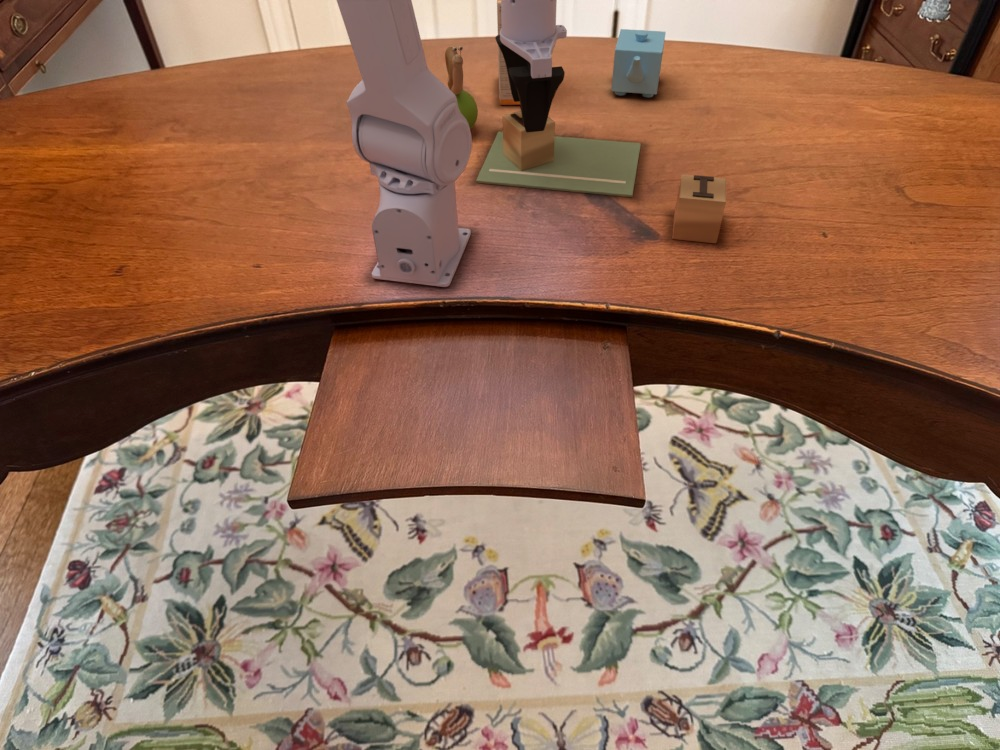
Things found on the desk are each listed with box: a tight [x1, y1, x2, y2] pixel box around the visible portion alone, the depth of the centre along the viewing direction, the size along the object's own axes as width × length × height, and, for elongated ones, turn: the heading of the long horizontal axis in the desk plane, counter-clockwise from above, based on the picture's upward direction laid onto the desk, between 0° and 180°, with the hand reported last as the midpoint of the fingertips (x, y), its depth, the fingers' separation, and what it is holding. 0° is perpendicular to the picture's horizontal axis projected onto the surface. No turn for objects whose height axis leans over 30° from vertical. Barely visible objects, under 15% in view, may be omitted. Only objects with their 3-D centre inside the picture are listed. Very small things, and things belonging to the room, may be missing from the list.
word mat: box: [475, 130, 642, 198], centre depth 85 cm, size 12×18×1 cm, turn 78°
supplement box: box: [496, 0, 520, 106], centre depth 94 cm, size 8×5×13 cm, turn 179°
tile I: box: [671, 173, 727, 244], centre depth 73 cm, size 4×4×5 cm
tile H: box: [501, 110, 556, 171], centre depth 84 cm, size 4×4×5 cm
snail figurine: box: [444, 45, 479, 130], centre depth 87 cm, size 5×6×12 cm
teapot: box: [610, 28, 666, 98], centre depth 96 cm, size 12×6×8 cm, turn 168°
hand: (528, 114), depth 82 cm, fingers open, 7 cm apart
